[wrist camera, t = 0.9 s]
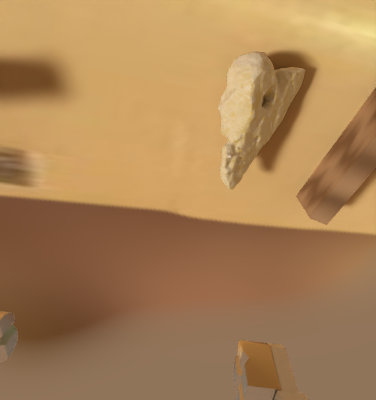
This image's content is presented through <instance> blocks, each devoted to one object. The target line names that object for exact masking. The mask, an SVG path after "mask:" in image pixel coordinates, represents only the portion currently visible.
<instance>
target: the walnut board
mask: <svg viewBox="0 0 376 400" xmlns="http://www.w3.org/2000/svg"><path fill="white" fill-rule="evenodd" d="M375 168H376V88H375V90H374V91H373V92H372V94H371V95H370V96H369V98H368V99H367V100H366V102H365V103H364V105H363V106H362V107H361V109H360V110H359V111H358V113H357V114H356V115H355V117H354V118H353V120H352V121H351V122H350V124H349V125H348V126H347V128H346V129H345V130H344V132H343V133H342V135H341V136H340V137H339V139H338V140H337V141H336V143H335V144H334V145H333V147H332V148H331V150H330V151H329V152H328V154H327V155H326V156H325V158H324V159H323V160H322V162H321V163H320V165H319V166H318V167H317V169H316V170H315V171H314V173H313V174H312V175H311V177H310V178H309V179H308V181H307V182H306V184H305V185H304V186H303V188H302V189H301V190H300V192H299V193H298V194H297V196H296V197H297V198H298V200H299V201H300V203H301V205H302V206H303V208H304V209H305V211H306V213H307V214H308V216H309V217H310V218H311V219H313V220H316V221H318V222H321V223H323V224H326V225H327V224H328V223H329V222H330V221H331V219H332V218H333V217H334V216H335V215H336V214H337V212H338V211H339V210H340V209H341V208H342V207H343V205H344V204H345V203H346V202H347V201H348V200H349V198H350V197H351V196H352V195H353V194H354V193H355V191H356V190H357V189H358V188H359V187H360V186H361V184H362V183H363V182H364V181H365V180H366V179H367V177H368V176H369V175H370V174H371V173H372V172H373V171H374V169H375Z"/></svg>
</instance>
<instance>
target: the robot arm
mask: <svg viewBox="0 0 376 400" xmlns="http://www.w3.org/2000/svg"><path fill="white" fill-rule="evenodd" d="M14 321H15V318H14V315H13V313H9V312H2V311H0V363H1V362H3V361H4V360H6V359H8V358H9V356H10V355H11V353H12V352H13V350H14V348H15V346H16V343H17V339H18V332H17V329H16V328H15V327H14V326H13V325H12V324H13V322H14ZM234 387H235V388H236V390H237V391H238V394H237V397H236V400H309V399H308V398H307V397H306V396H305V395H304V394H302V393H299V391H298V388H297V385H296V381H295V378H294V375H293V371H292V368H291V365H290V361H289V358H288V355H287V352H286V348H285V347H284V346H283V345H279V344H270V343H269V344H268V343H263V342H253V341H245V340H240V341H239V344H238V355H237V356H236V357H235V362H234Z"/></svg>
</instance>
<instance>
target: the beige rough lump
mask: <svg viewBox="0 0 376 400" xmlns="http://www.w3.org/2000/svg"><path fill="white" fill-rule="evenodd" d="M304 74H305V69H303V68H296V67H289V68H280V69H277V70H274V67H273V64H272V62H271V60H270V59H269V58H268V57H267V56H266V54H265V53H264V52H257V51H256V52H251V53H249V54H246V55H241V56H240V57H238V58H236V59H235V60H234V61H233V63H232V65H231V67H230V68H229V70H228V73H227V88H226V90H225V91H224V93H223V95H222V98H221V103H220V104H219V106H218V110H219V111H220V114H221V120H222V121H221V133H222V134H223V135H224V136H226V137H227V139H228V141H227V143H226V144H225V145H224V146H223V148H222V151H221V155H222V162H221V167H220V171H221V179H222V180H223V181H224V182H223V183H224V184H225V185H226V186H227V187H228V188H229V189H233V188H234V187H235V186H236V185H237V184H238V183H239V182H240V180H241V179H242V176H243V174H244V173H245V172H246V170H247V169H248V167H249V165H250V164H251V163H252V161H253V160H254V158H255V157H256V156H257V154H258V153H259V151H260V149H261V148H262V147H263V146H264V145H265V144H266V143H267V142H268V141H269V140H270V138H271V136H272V135H273V133H274V132H275V131H276V129H277V127H278V126H279V124H280V123H281V122H282V120H283V118H284V116H285V114H286V112H287V109H288V107H289V105H290V104H291V102H292V101H293V99H294V97H295V96H296V94H297V92H298V90H299V89H300V87H301V85H302V82H303V78H304Z"/></svg>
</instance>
